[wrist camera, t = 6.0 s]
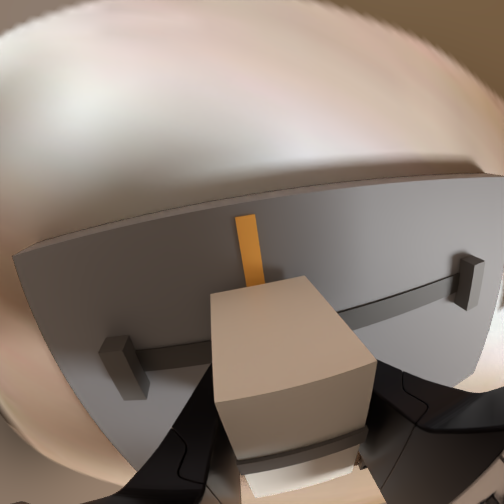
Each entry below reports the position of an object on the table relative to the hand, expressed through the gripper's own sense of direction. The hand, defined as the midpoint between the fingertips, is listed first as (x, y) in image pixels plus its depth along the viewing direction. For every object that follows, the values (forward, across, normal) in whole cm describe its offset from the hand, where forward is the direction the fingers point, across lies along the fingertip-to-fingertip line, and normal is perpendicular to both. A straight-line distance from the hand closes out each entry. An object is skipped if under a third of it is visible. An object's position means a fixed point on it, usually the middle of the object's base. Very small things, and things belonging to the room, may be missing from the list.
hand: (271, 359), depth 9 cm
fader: (+1, 0, 0) cm, 1 cm away
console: (+3, -3, +2) cm, 5 cm away
